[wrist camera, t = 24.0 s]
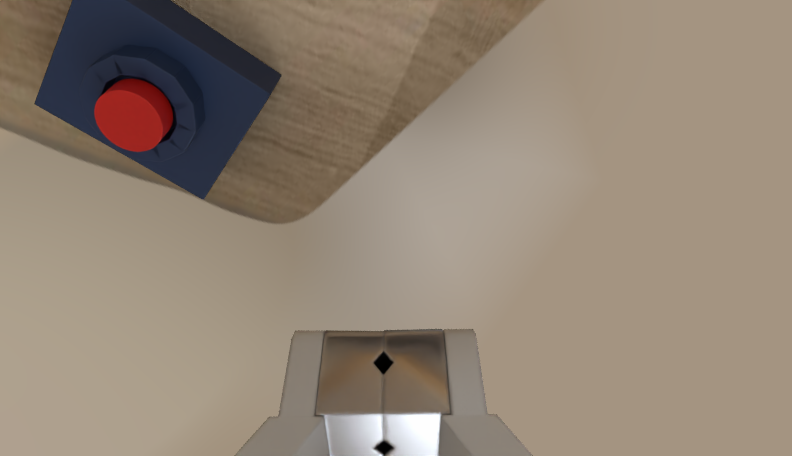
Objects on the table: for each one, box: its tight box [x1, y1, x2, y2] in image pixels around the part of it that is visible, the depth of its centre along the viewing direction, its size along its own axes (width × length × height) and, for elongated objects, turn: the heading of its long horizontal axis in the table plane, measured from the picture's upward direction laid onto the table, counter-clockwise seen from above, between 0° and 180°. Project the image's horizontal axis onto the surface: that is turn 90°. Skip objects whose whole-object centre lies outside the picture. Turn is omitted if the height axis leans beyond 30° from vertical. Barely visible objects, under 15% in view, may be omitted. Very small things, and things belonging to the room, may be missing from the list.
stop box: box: [35, 0, 281, 199], centre depth 38 cm, size 12×10×5 cm
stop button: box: [94, 79, 173, 152], centre depth 36 cm, size 4×4×2 cm
